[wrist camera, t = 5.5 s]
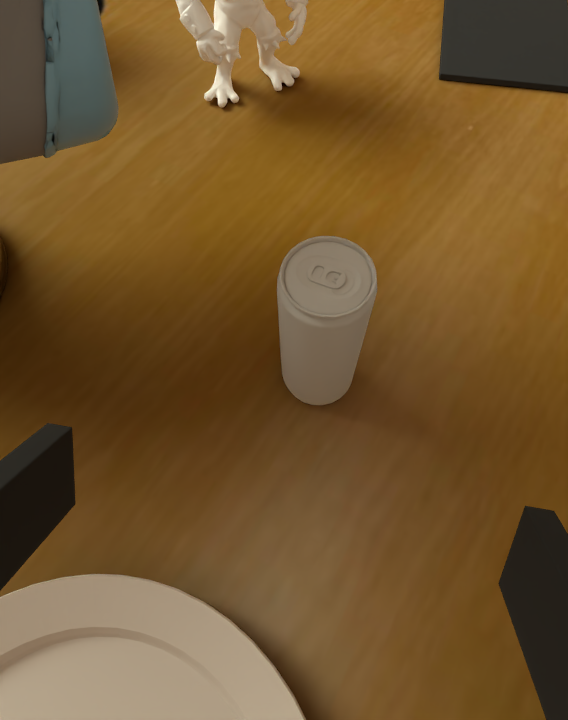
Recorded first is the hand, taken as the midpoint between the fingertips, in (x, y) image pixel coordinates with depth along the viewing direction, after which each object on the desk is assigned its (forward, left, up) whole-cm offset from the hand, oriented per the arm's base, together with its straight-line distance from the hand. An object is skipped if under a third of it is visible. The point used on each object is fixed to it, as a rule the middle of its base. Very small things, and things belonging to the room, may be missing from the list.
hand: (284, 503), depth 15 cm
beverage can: (-4, +10, -17) cm, 20 cm away
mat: (-8, +54, -17) cm, 57 cm away
